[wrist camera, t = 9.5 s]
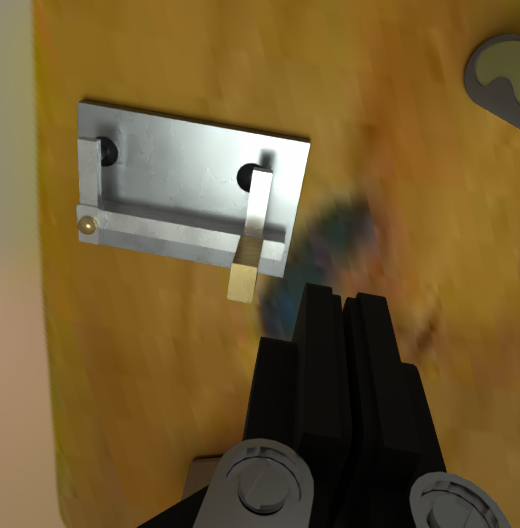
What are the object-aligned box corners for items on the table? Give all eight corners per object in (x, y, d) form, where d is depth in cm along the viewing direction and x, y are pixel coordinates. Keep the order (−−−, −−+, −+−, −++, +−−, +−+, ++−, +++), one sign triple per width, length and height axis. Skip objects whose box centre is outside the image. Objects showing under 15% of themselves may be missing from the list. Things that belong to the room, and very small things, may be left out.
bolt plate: (84, 99, 37) (54, 112, 33) (310, 139, 37) (309, 157, 33) (88, 235, 43) (63, 260, 39) (283, 270, 43) (280, 300, 39)
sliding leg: (254, 158, 37) (241, 192, 30) (277, 162, 37) (269, 197, 30) (240, 252, 41) (226, 300, 34) (261, 255, 41) (251, 304, 34)
